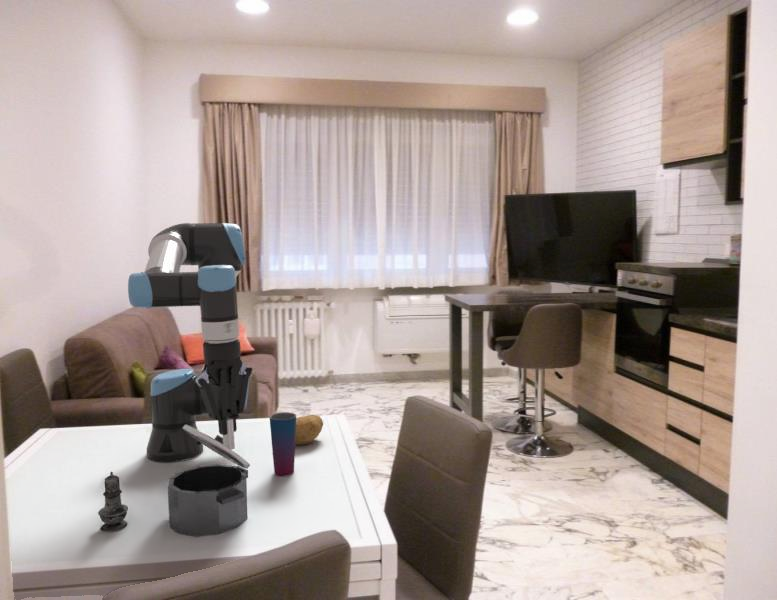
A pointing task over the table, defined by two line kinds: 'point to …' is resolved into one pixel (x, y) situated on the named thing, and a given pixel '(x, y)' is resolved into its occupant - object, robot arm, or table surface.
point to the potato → (307, 428)
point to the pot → (207, 499)
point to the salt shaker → (113, 506)
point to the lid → (216, 446)
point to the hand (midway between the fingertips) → (229, 447)
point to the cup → (283, 442)
